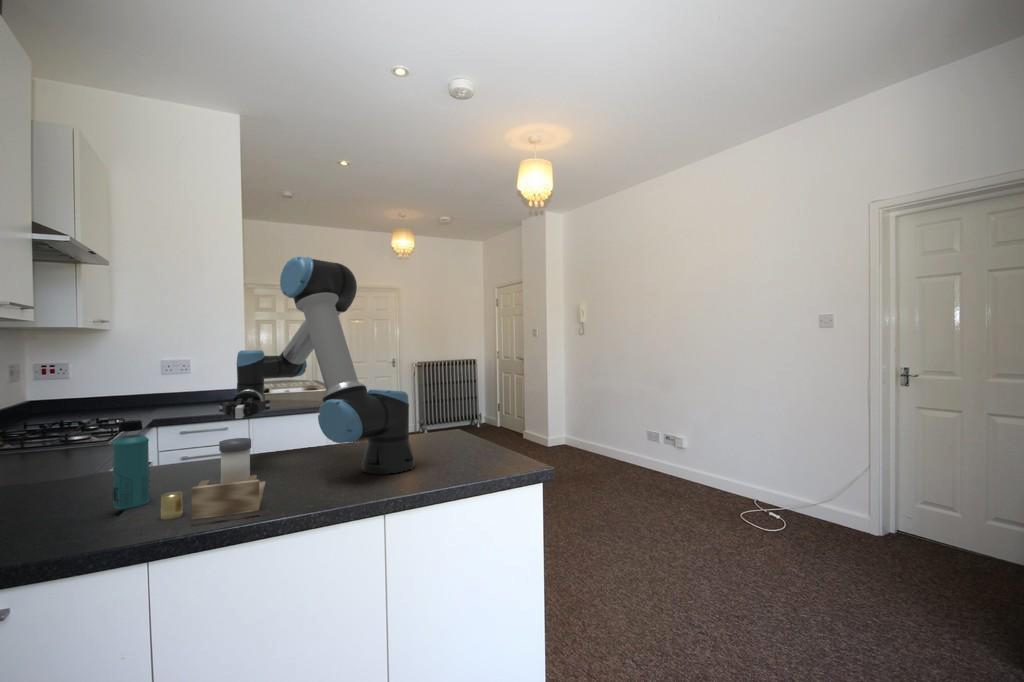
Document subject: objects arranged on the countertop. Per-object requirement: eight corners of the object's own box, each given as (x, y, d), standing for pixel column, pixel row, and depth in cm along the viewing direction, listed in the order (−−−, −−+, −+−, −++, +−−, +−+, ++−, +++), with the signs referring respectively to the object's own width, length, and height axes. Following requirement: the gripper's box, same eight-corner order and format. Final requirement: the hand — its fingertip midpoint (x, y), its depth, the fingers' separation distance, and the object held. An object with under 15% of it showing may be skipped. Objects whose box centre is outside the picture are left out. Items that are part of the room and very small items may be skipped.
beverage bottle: (157, 507, 106) (157, 418, 107) (126, 517, 100) (126, 423, 100) (135, 505, 108) (135, 417, 108) (103, 515, 102) (103, 422, 102)
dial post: (184, 519, 99) (184, 490, 99) (180, 525, 96) (180, 495, 96) (163, 522, 97) (163, 493, 97) (158, 528, 94) (158, 498, 94)
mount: (265, 487, 121) (265, 457, 121) (258, 517, 100) (258, 481, 100) (210, 493, 116) (210, 463, 116) (191, 527, 95) (191, 489, 95)
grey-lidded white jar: (252, 485, 117) (252, 437, 117) (250, 493, 111) (249, 441, 111) (221, 489, 114) (221, 439, 114) (217, 497, 108) (217, 444, 108)
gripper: (272, 414, 144) (267, 426, 122) (222, 416, 138) (208, 430, 117) (272, 389, 144) (267, 397, 122) (222, 391, 138) (208, 399, 117)
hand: (238, 413), depth 119 cm, fingers closed
